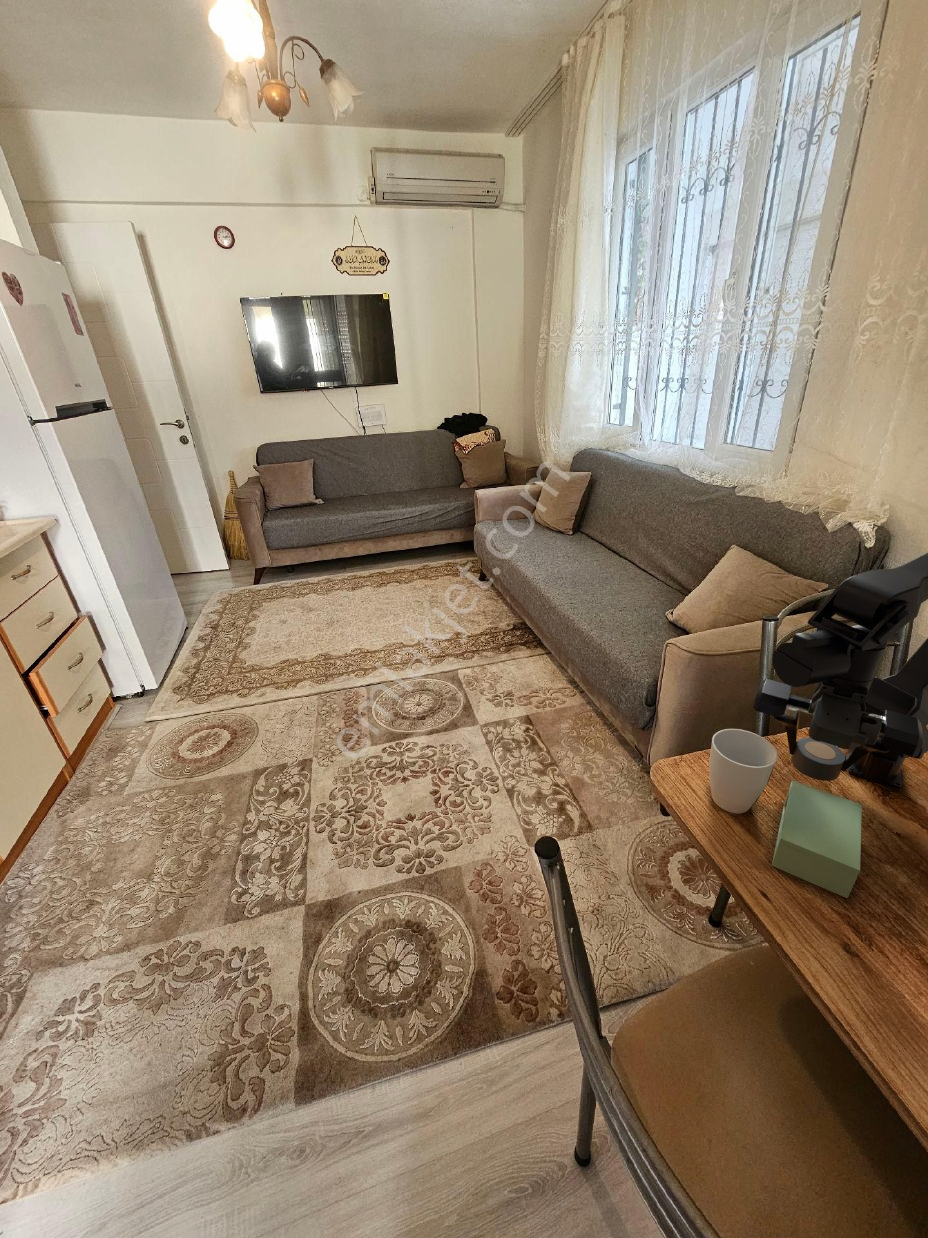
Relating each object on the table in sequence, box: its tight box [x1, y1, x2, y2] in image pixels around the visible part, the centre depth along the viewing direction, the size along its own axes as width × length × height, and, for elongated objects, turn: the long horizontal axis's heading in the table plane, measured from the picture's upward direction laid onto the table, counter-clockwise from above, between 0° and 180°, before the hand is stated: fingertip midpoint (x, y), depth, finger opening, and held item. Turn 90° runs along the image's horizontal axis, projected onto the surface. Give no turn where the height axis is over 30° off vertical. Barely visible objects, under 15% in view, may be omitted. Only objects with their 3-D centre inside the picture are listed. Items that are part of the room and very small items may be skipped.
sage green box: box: [771, 780, 863, 899], centre depth 66 cm, size 12×8×5 cm, turn 144°
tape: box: [790, 736, 846, 782], centre depth 74 cm, size 6×6×3 cm
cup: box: [708, 728, 779, 814], centre depth 72 cm, size 8×8×10 cm
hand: (816, 761), depth 74 cm, fingers closed on tape, 6 cm apart
